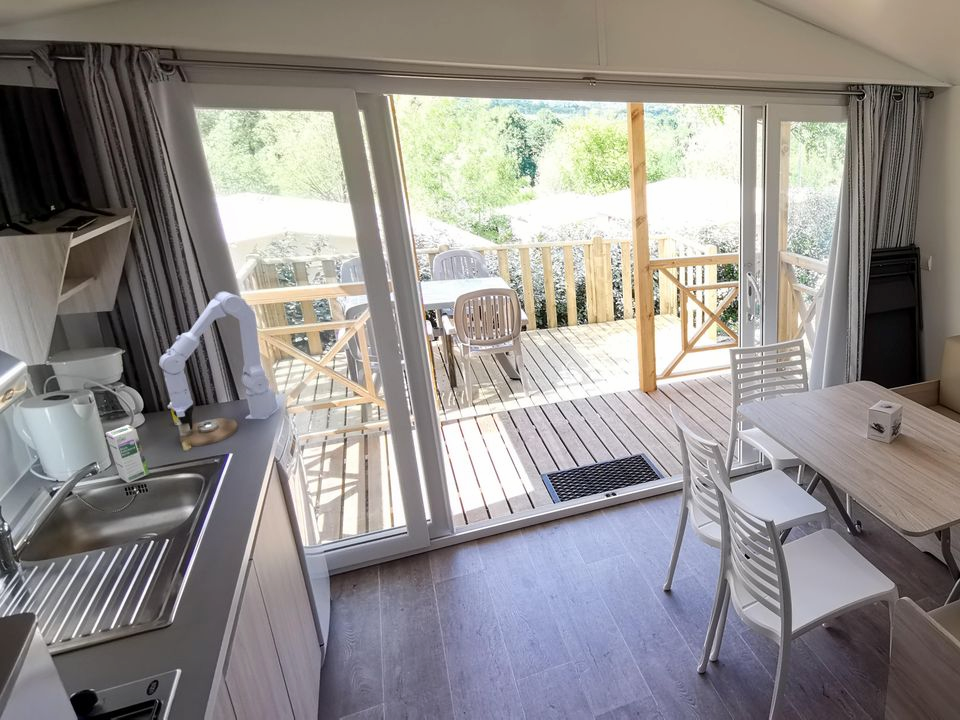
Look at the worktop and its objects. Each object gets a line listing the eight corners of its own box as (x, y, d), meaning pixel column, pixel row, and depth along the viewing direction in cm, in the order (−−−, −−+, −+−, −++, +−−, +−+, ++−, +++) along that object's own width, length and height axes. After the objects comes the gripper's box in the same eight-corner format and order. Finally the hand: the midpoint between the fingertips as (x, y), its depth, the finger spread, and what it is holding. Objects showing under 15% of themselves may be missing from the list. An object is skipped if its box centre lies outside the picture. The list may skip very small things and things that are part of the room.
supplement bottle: (191, 424, 184) (183, 397, 181) (173, 427, 183) (165, 399, 180) (194, 418, 190) (187, 391, 186) (177, 421, 188) (169, 394, 185)
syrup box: (128, 483, 149) (113, 436, 144) (119, 477, 152) (104, 431, 148) (149, 474, 153) (136, 428, 148) (140, 468, 156) (127, 423, 152)
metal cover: (197, 428, 176) (196, 422, 176) (217, 423, 179) (216, 417, 178) (199, 435, 171) (198, 429, 171) (220, 429, 174) (218, 424, 174)
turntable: (233, 418, 187) (230, 404, 185) (241, 435, 173) (238, 421, 171) (178, 431, 178) (174, 417, 177) (182, 451, 165) (178, 436, 163)
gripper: (167, 385, 174) (177, 423, 179) (161, 400, 162) (172, 441, 166) (191, 381, 177) (200, 418, 181) (187, 396, 164) (197, 435, 168)
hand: (188, 429), depth 174 cm, fingers closed, pressing on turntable
